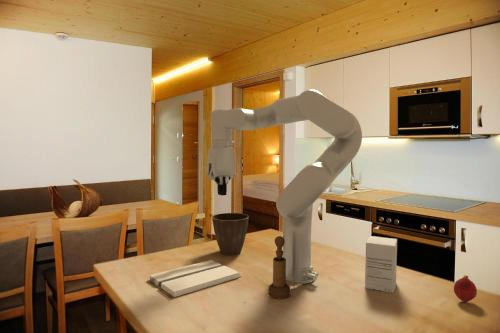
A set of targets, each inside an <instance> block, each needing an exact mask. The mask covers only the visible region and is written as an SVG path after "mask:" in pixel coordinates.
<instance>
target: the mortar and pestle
mask: <svg viewBox="0 0 500 333" xmlns="http://www.w3.org/2000/svg"><path fill="white" fill-rule="evenodd" d="M284 243H285V240H284V238H283V236H281V235H280V236H276V237H275V238H274V244H275V247H277V249H276V250H275V254H276V257H273V258H272V283H271V284H270V285H269V286H268V292H267V293H268V297H270V298H272V299H277V300H283V299H287V298H289V297H290V296H291V286H290V285H289V284H288V283H287V282H286V281H287V280H286V259H285V258H283V245H284Z"/></svg>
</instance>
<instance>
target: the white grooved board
mask: <svg viewBox="0 0 500 333" xmlns="http://www.w3.org/2000/svg"><path fill="white" fill-rule="evenodd" d="M221 266H222V264H221V263H219V262H217V261H215V260H214V259H209V260H205V261H200V262H197V263H193V264H189V265H184V266H181V267H177V268H173V269H169V270H166V271H165V270H164V271H161V272H156V273H154V274H150V275H149V279H148V280H147V283H149V284H151V285H152V286H153V287H155V288H156V289H158V290H159V291H160V292H161V293H162V294H165V296H167V297H168V298H170V299H171V300H172V299H175V298H178V297H181V296H185V295H188V294H191V293H193V292H197V291H200V290H204V289H207V288H210V287H214V286H217V285H220V284H224V283H227V282H229V281H233V280H236V279H239V278H242V276H241V275H239V277H238V278H235V279H232V280H229V281H225V282H222V283H219V284H216V285H212V286H209V287H206V288H203V289H199V290H196V291H193V292H190V293H186V294H183V295H180V296H177V297H173V296H172V295H171V294H169V293H168V292H166V291H165V290H164V289H162V288H161V283H162V282H166V281H170V280H173V279H177V278H181V277H184V276H188V275H192V274H195V273H199V272H203V271H206V270H210V269H214V268H217V267H221Z"/></svg>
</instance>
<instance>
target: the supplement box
mask: <svg viewBox="0 0 500 333" xmlns="http://www.w3.org/2000/svg"><path fill="white" fill-rule="evenodd" d="M397 256H398V238H392V237H390V238H389V237H383V236H382V237H381V236H375V235H373V236H372V235H370V236H369V237H368V239H367V240H366V243H365V263H364V265H365V266H364V267H365V268H364V269H365V270H364V271H365V272H364V288H365V289H369V290H373V289H375V290H374V291H379V290H380V291H381V292H386V293H391V292H392V293H393V294H394V293H395V290H396V287H397V286H396V285H397V261H398V260H397Z"/></svg>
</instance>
